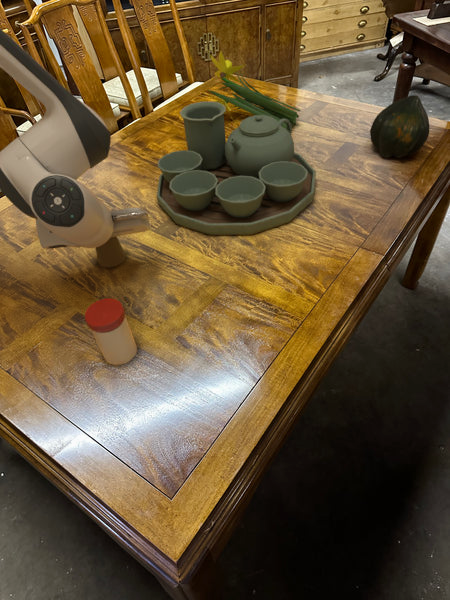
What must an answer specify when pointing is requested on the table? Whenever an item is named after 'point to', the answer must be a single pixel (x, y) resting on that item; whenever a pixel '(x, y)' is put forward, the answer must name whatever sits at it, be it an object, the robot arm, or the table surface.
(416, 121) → the squash
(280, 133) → the tea set
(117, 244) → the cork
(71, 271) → the table surface
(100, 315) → the jam jar lid
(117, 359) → the jam jar
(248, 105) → the daffodil flowers
